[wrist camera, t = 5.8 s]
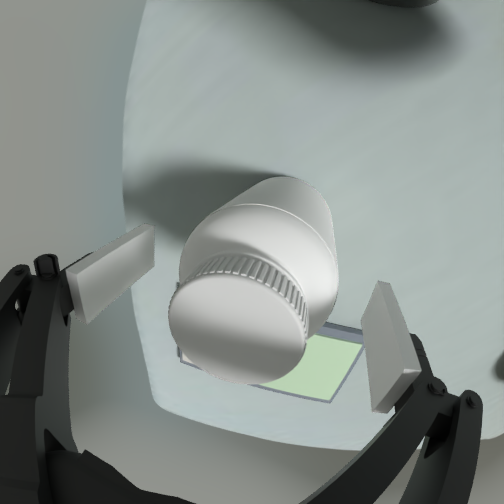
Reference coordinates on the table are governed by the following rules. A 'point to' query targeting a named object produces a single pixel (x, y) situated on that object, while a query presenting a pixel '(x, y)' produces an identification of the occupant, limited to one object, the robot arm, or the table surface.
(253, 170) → the table surface
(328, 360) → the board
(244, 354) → the pill bottle
